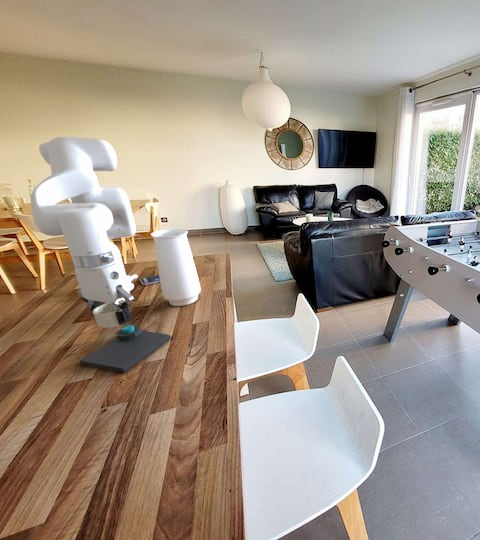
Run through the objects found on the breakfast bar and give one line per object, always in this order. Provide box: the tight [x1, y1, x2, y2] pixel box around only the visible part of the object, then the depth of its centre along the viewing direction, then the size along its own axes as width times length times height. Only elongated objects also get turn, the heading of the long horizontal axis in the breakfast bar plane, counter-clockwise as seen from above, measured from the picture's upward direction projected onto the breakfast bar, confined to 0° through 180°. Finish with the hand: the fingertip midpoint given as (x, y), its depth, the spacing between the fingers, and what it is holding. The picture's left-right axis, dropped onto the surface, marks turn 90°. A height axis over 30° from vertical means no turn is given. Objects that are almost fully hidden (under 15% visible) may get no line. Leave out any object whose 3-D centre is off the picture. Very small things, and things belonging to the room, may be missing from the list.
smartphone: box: [139, 274, 160, 286], centre depth 132 cm, size 8×1×15 cm
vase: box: [150, 228, 201, 307], centre depth 110 cm, size 13×13×28 cm
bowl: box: [92, 301, 122, 329], centre depth 77 cm, size 7×7×4 cm
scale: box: [79, 324, 171, 373], centre depth 85 cm, size 16×14×3 cm
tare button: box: [121, 324, 135, 334], centre depth 90 cm, size 3×3×2 cm
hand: (113, 319), depth 78 cm, fingers closed on bowl, 6 cm apart
